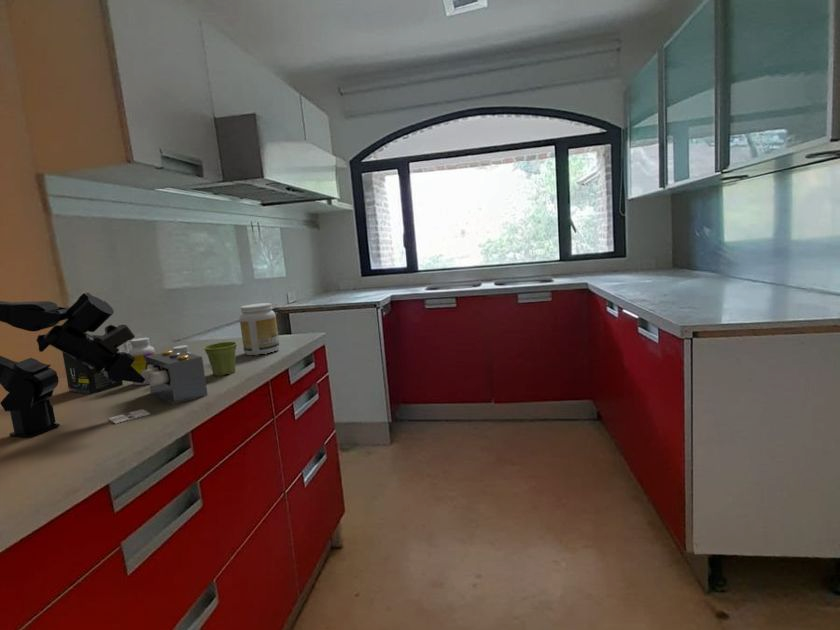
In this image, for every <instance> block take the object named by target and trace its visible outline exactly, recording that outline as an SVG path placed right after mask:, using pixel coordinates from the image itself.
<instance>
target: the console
mask: <svg viewBox="0 0 840 630" xmlns="http://www.w3.org/2000/svg"><path fill="white" fill-rule="evenodd" d="M190 353H191V352H189V353H186V352H183V351H179V350H174V351H173V350H165V351H162V352H160V353H155V354H154V355H149V356H145V357H146V363H147V366H148V365H151V364H153V368H156V367H158V368H159V366H160V369H161V371H163V370H166V371H167V373H168V376H169V382H168V383H165V384H161V385H156V386H151V385H150V384H149V386H150V387H149V388H150V393H151V394H153V395H155V396H158V397H159V398H162V399H163V400H165V401H167V402H170V403H172V404H174V405H175V404H179V403H183V402H187V401H191V400H194V398H195V399H198V398H201V396H202V397H205V395H206V396H208V389H207V383H206V374H205V368H204V367H205V366H204V361H203V357H202V355H201V356H200V355H196V354H193V353H191V354H190ZM160 369H159V370H160ZM197 397H198V398H197ZM190 399H191V400H190Z"/></svg>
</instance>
